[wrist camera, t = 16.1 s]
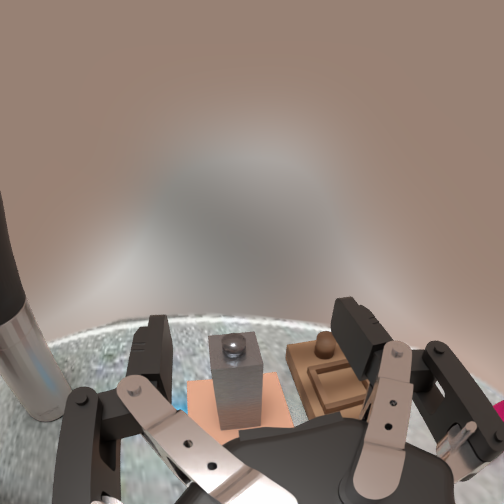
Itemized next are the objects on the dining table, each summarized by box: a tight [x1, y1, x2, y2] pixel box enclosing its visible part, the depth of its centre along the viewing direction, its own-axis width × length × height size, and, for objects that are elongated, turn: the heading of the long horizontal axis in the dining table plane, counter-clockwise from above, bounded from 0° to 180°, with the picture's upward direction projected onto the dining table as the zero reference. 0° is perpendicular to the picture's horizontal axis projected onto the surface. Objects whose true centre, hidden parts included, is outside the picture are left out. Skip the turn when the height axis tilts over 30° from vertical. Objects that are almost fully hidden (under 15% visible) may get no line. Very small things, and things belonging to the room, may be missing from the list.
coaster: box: [187, 372, 294, 445], centre depth 34 cm, size 13×13×1 cm
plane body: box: [286, 331, 370, 420], centre depth 35 cm, size 20×10×6 cm, turn 10°
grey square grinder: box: [208, 332, 263, 431], centre depth 31 cm, size 5×5×13 cm
